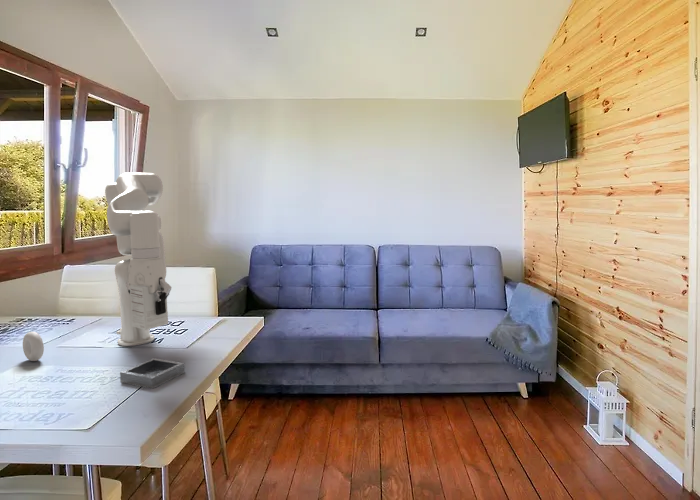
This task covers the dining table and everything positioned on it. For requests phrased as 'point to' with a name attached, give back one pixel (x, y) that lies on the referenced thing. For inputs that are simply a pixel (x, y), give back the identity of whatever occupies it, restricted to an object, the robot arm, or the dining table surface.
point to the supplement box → (145, 308)
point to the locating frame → (152, 373)
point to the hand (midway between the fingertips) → (149, 312)
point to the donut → (33, 346)
